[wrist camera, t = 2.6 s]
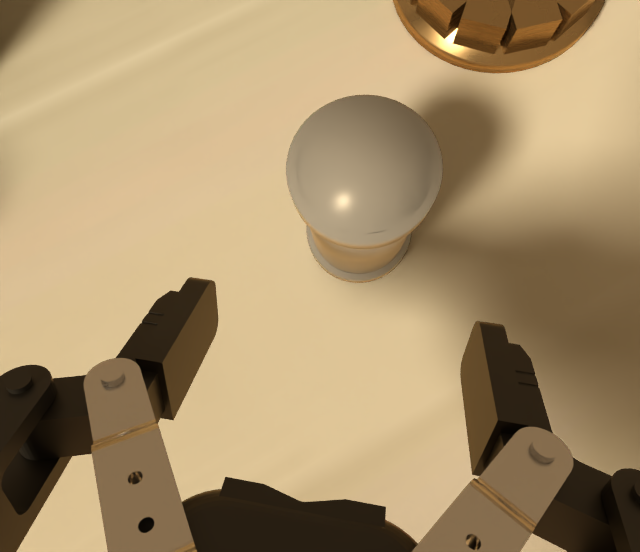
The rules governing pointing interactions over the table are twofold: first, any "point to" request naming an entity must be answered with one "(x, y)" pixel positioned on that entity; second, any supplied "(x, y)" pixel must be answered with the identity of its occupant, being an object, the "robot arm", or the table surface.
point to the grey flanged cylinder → (363, 183)
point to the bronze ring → (497, 30)
